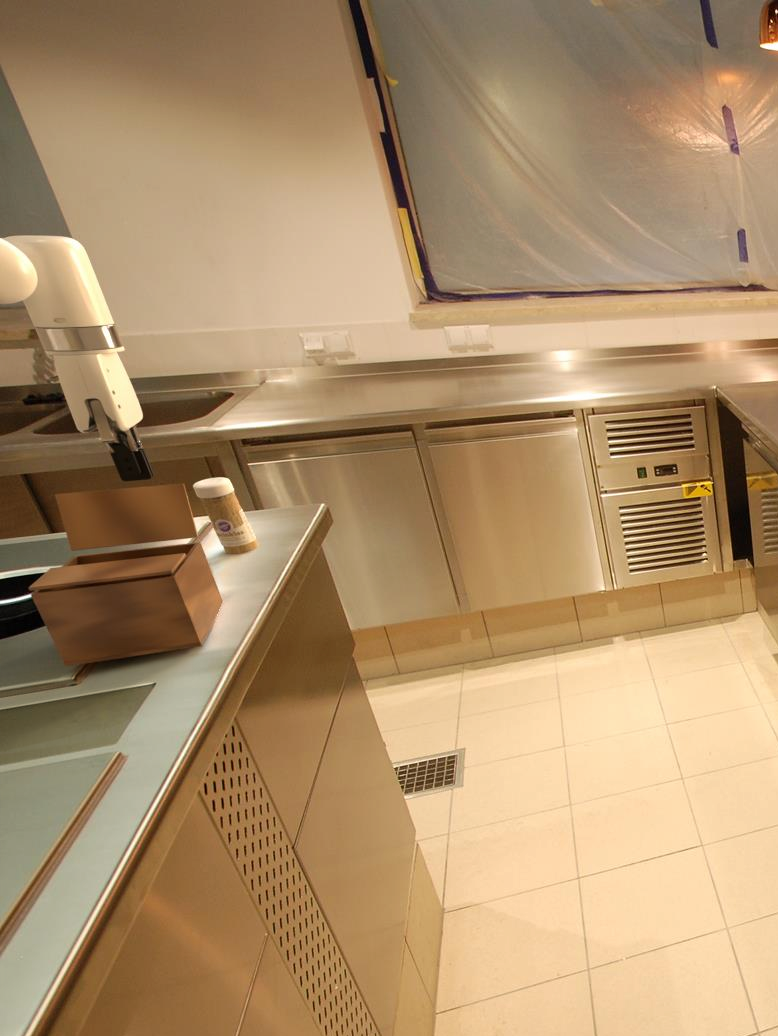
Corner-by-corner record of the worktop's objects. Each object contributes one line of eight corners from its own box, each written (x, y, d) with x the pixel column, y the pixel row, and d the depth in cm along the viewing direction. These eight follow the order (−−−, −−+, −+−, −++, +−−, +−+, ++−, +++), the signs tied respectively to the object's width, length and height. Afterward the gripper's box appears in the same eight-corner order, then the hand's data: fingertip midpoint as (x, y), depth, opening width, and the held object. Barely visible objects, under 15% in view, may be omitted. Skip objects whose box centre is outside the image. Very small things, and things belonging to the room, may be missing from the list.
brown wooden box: (65, 666, 102) (27, 588, 97) (103, 621, 113) (70, 549, 109) (202, 645, 108) (171, 570, 103) (224, 605, 119) (198, 536, 115)
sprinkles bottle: (229, 569, 133) (189, 488, 126) (232, 558, 136) (193, 479, 129) (264, 562, 135) (227, 483, 128) (267, 552, 138) (230, 474, 131)
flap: (54, 494, 108) (56, 494, 108) (71, 550, 109) (72, 550, 109) (183, 483, 114) (184, 483, 114) (197, 537, 115) (198, 537, 115)
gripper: (62, 335, 113) (118, 469, 121) (20, 348, 101) (85, 495, 109) (135, 333, 116) (185, 464, 124) (102, 345, 105) (160, 489, 113)
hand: (138, 478), depth 117 cm, fingers closed
